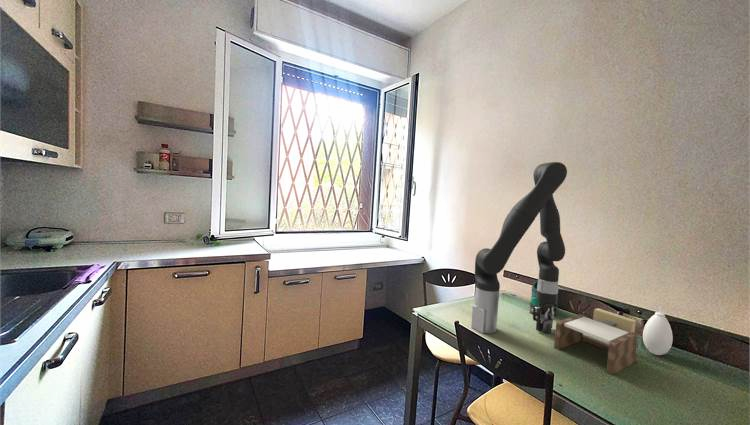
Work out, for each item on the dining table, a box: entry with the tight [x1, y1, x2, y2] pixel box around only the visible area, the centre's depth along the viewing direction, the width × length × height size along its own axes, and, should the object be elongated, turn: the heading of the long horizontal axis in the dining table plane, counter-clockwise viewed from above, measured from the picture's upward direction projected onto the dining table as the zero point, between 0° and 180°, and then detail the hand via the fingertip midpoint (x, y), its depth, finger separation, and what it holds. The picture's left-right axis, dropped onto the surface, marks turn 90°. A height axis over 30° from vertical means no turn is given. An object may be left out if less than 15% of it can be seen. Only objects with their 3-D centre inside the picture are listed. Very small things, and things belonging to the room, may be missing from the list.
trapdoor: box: [564, 308, 637, 345], centre depth 106 cm, size 22×14×6 cm, turn 119°
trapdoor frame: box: [553, 313, 639, 376], centre depth 105 cm, size 19×18×10 cm
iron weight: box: [540, 317, 553, 335], centre depth 122 cm, size 5×5×5 cm
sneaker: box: [529, 280, 543, 315], centre depth 147 cm, size 9×24×15 cm, turn 140°
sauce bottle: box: [642, 305, 674, 356], centre depth 107 cm, size 8×8×18 cm
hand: (544, 329), depth 122 cm, fingers open, 6 cm apart
